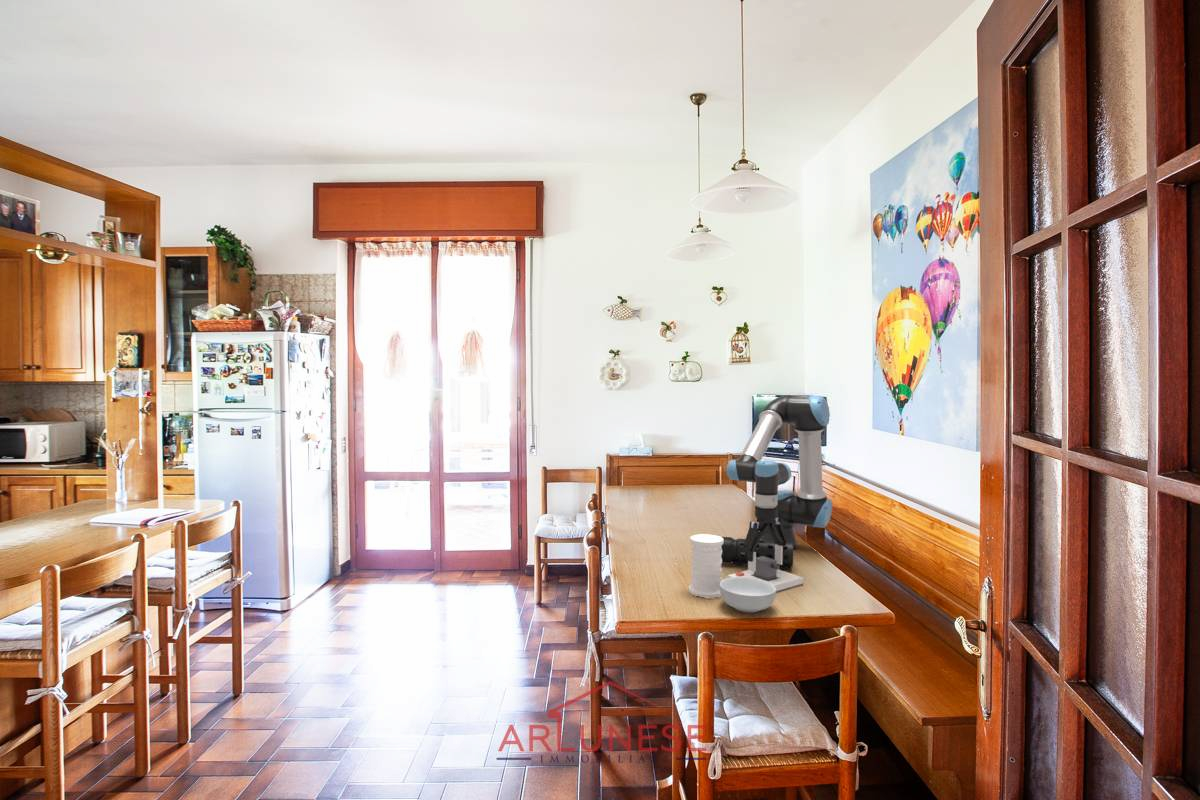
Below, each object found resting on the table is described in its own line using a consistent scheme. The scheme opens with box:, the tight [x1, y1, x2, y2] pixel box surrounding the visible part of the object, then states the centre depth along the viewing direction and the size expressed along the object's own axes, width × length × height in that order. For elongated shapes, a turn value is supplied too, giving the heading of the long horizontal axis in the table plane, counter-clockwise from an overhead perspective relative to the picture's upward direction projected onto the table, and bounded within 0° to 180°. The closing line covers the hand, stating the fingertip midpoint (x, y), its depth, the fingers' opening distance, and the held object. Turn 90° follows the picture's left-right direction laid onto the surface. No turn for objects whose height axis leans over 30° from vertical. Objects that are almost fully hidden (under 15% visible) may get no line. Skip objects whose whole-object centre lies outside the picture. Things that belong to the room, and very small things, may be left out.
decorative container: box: [688, 533, 724, 599], centre depth 199 cm, size 12×12×18 cm
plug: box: [754, 556, 781, 581], centre depth 207 cm, size 8×4×8 cm, turn 36°
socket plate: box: [727, 569, 804, 594], centre depth 208 cm, size 20×16×3 cm
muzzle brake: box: [721, 536, 794, 570], centre depth 228 cm, size 10×28×10 cm, turn 76°
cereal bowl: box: [720, 577, 777, 614], centre depth 186 cm, size 17×17×7 cm
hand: (765, 567), depth 208 cm, fingers open, 13 cm apart
